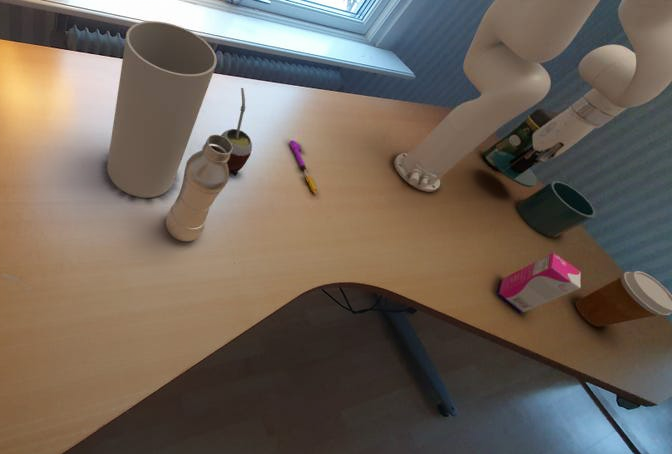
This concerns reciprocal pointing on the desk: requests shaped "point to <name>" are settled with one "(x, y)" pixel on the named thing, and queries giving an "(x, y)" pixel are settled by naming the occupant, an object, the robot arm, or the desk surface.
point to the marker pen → (302, 163)
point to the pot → (556, 209)
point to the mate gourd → (238, 144)
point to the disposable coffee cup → (626, 300)
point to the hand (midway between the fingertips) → (515, 167)
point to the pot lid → (504, 165)
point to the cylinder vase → (157, 105)
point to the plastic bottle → (199, 188)
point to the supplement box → (539, 283)
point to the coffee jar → (521, 135)
